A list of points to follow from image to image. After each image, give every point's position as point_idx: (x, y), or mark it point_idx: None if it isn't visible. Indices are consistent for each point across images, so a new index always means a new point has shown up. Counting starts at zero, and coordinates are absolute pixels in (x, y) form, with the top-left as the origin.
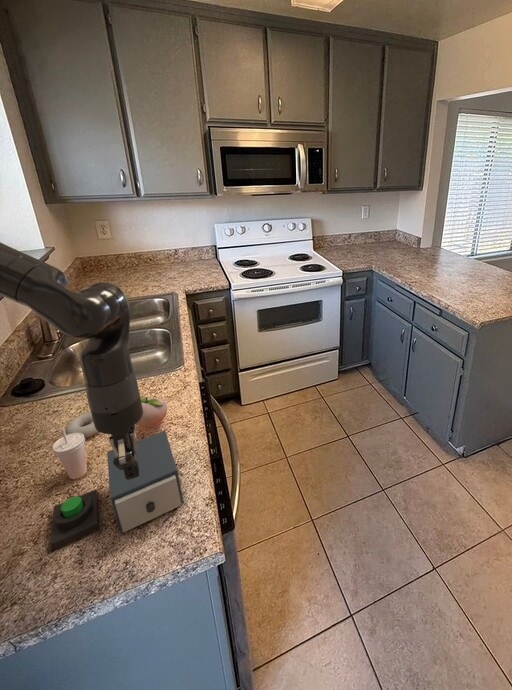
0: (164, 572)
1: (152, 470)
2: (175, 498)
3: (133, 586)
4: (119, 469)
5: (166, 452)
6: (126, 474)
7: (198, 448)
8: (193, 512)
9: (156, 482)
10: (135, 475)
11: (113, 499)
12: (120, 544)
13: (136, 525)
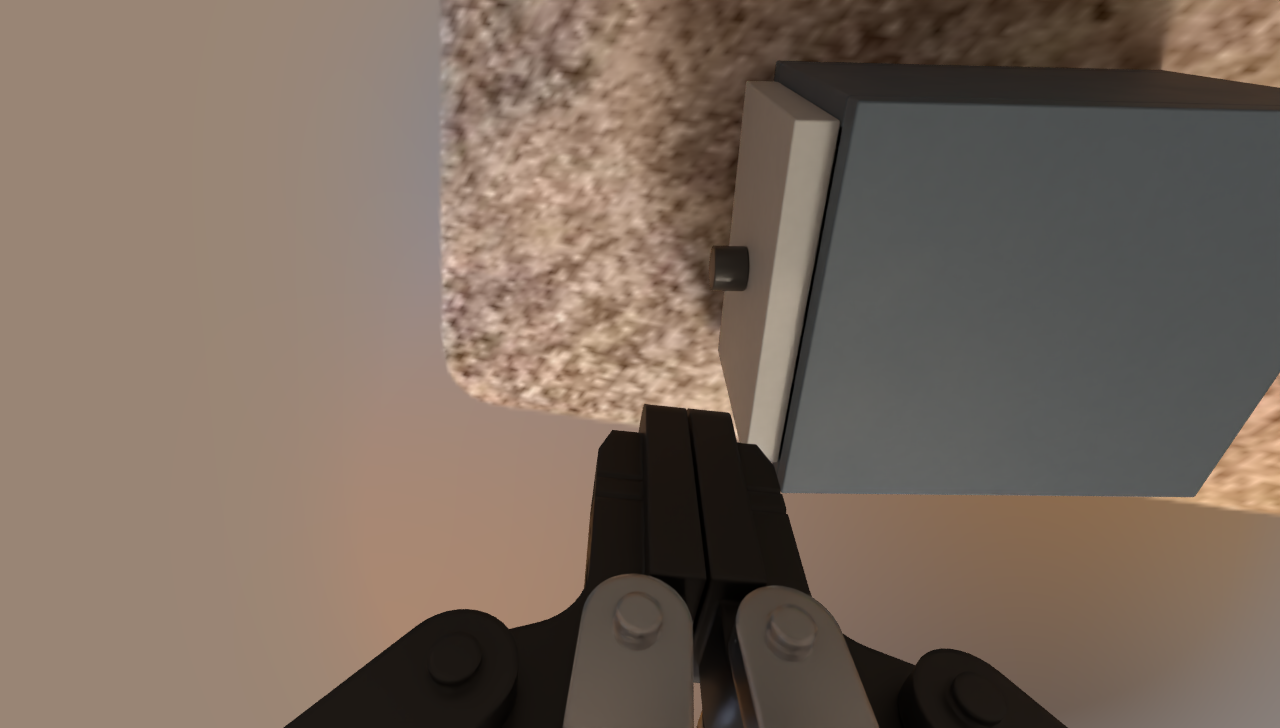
0: (445, 221)
1: (892, 385)
2: (726, 364)
3: (440, 89)
4: (322, 700)
5: (979, 472)
6: (643, 455)
7: None
8: (664, 373)
9: (791, 375)
10: (591, 506)
11: (844, 116)
12: (703, 53)
13: (740, 153)
